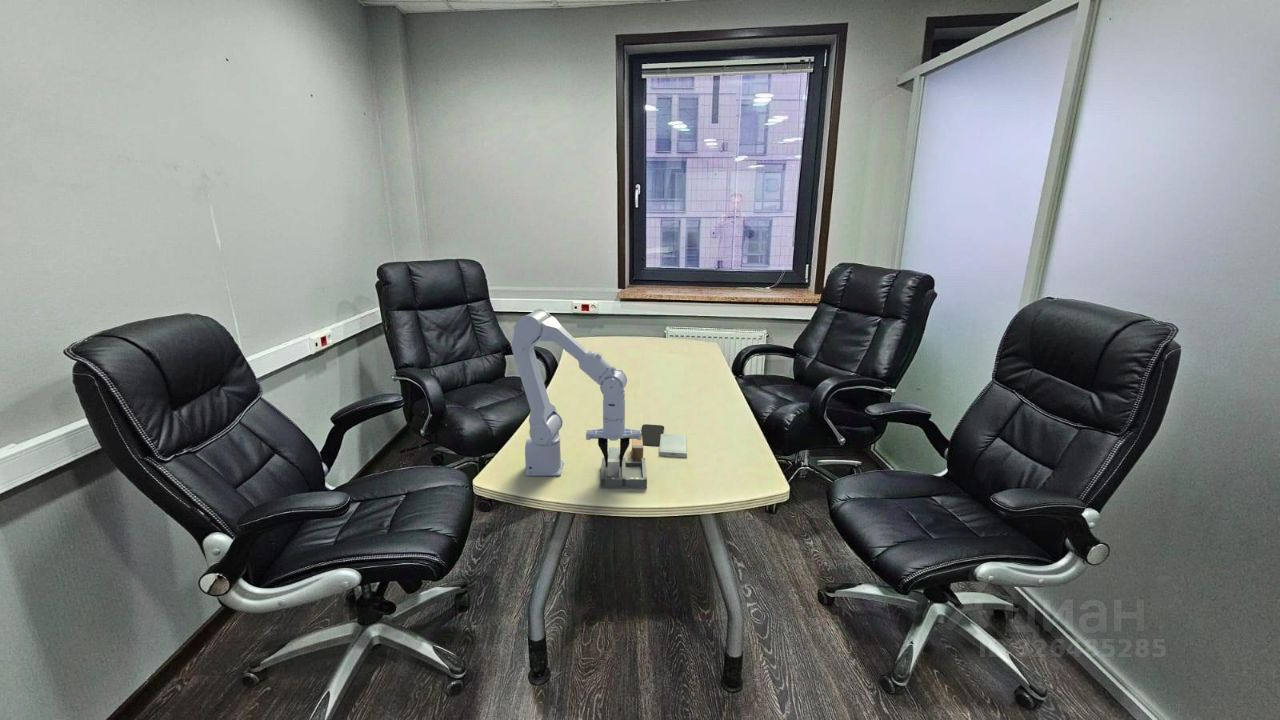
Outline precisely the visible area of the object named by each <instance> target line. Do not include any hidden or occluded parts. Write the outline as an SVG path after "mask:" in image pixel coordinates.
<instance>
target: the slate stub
mask: <svg viewBox="0 0 1280 720" xmlns="http://www.w3.org/2000/svg"><path fill="white" fill-rule="evenodd" d="M619 455H620V446H619V447H618V446H617V447H610V446H608V477H619V471H620V459H619Z"/></svg>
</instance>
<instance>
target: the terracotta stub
mask: <svg viewBox="0 0 1280 720" xmlns="http://www.w3.org/2000/svg"><path fill="white" fill-rule="evenodd" d="M641 458H644V446H643V441H642V436H641V440H637V439H631V461H641Z"/></svg>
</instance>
